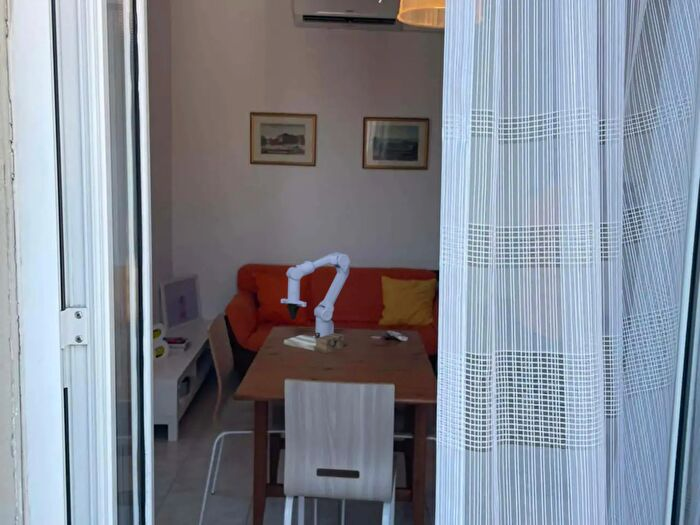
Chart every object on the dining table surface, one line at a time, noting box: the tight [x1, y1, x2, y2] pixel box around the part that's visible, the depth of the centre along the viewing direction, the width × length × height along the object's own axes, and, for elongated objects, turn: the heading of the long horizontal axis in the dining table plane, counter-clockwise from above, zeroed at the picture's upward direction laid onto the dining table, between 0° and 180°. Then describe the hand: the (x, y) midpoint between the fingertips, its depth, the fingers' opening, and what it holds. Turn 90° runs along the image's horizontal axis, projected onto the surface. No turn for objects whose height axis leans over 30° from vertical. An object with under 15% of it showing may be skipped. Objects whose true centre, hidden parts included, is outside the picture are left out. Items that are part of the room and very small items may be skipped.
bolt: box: [314, 332, 335, 345], centre depth 285 cm, size 3×10×4 cm, turn 56°
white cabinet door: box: [283, 332, 345, 354], centre depth 288 cm, size 14×25×6 cm, turn 56°
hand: (293, 319), depth 297 cm, fingers closed
